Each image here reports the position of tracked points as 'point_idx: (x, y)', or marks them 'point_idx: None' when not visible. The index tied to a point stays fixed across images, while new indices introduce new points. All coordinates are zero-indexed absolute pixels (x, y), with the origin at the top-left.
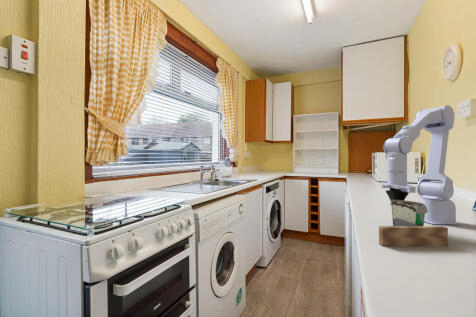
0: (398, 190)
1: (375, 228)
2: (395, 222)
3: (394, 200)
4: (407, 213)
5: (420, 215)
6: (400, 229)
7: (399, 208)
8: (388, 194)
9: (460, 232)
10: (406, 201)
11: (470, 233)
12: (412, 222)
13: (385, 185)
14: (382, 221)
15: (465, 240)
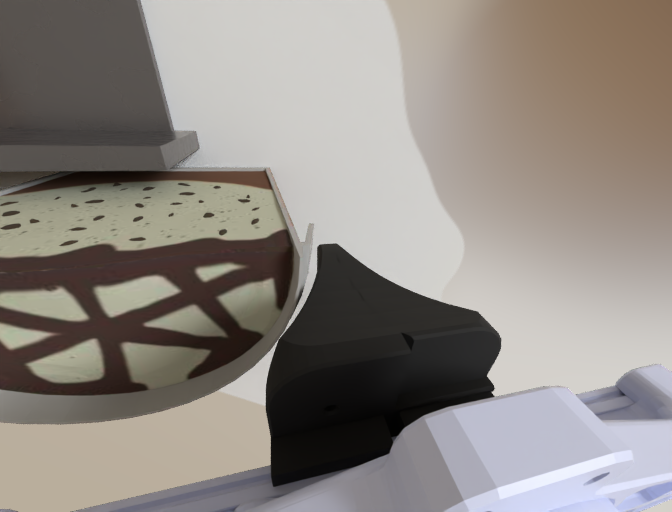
0: (293, 449)
1: (295, 61)
2: (161, 140)
3: (294, 282)
4: (33, 224)
5: None
6: None
7: (161, 230)
8: (417, 305)
9: (265, 386)
10: (248, 359)
11: (257, 401)
12: (10, 200)
13: (527, 422)
14: (430, 214)
15: None
